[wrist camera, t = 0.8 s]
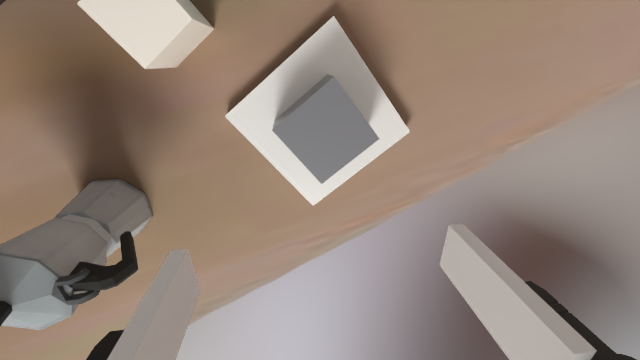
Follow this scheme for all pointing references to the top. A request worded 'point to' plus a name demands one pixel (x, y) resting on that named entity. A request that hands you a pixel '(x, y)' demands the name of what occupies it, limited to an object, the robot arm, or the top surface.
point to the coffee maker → (71, 255)
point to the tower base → (296, 84)
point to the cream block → (151, 28)
